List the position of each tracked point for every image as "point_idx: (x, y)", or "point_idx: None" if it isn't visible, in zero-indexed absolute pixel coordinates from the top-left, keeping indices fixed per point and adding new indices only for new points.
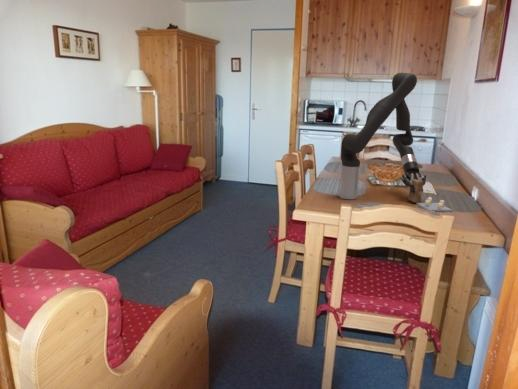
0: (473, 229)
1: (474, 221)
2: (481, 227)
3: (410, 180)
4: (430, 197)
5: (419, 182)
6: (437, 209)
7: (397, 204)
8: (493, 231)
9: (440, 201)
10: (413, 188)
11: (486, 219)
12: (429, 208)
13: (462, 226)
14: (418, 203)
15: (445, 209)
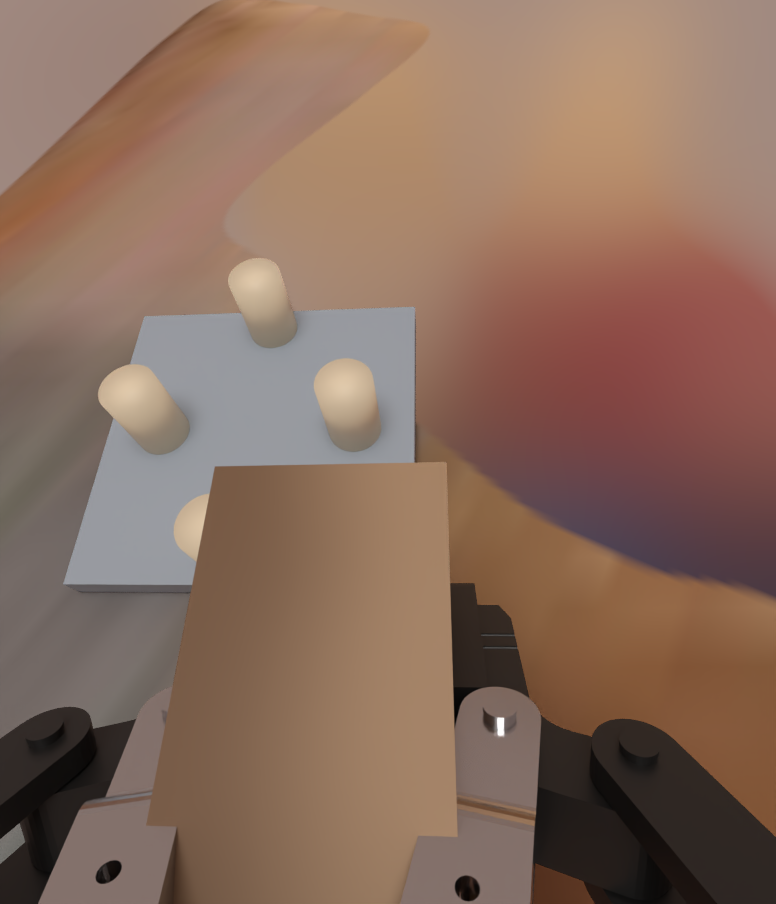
0: (314, 40)
1: (172, 145)
2: (229, 67)
3: (531, 902)
4: (181, 541)
5: (359, 474)
6: (304, 322)
7: (723, 606)
8: (212, 29)
9: (161, 388)
10: (476, 621)
11: (28, 184)
12: (378, 348)
13: (350, 70)
14: None
15: (210, 325)
